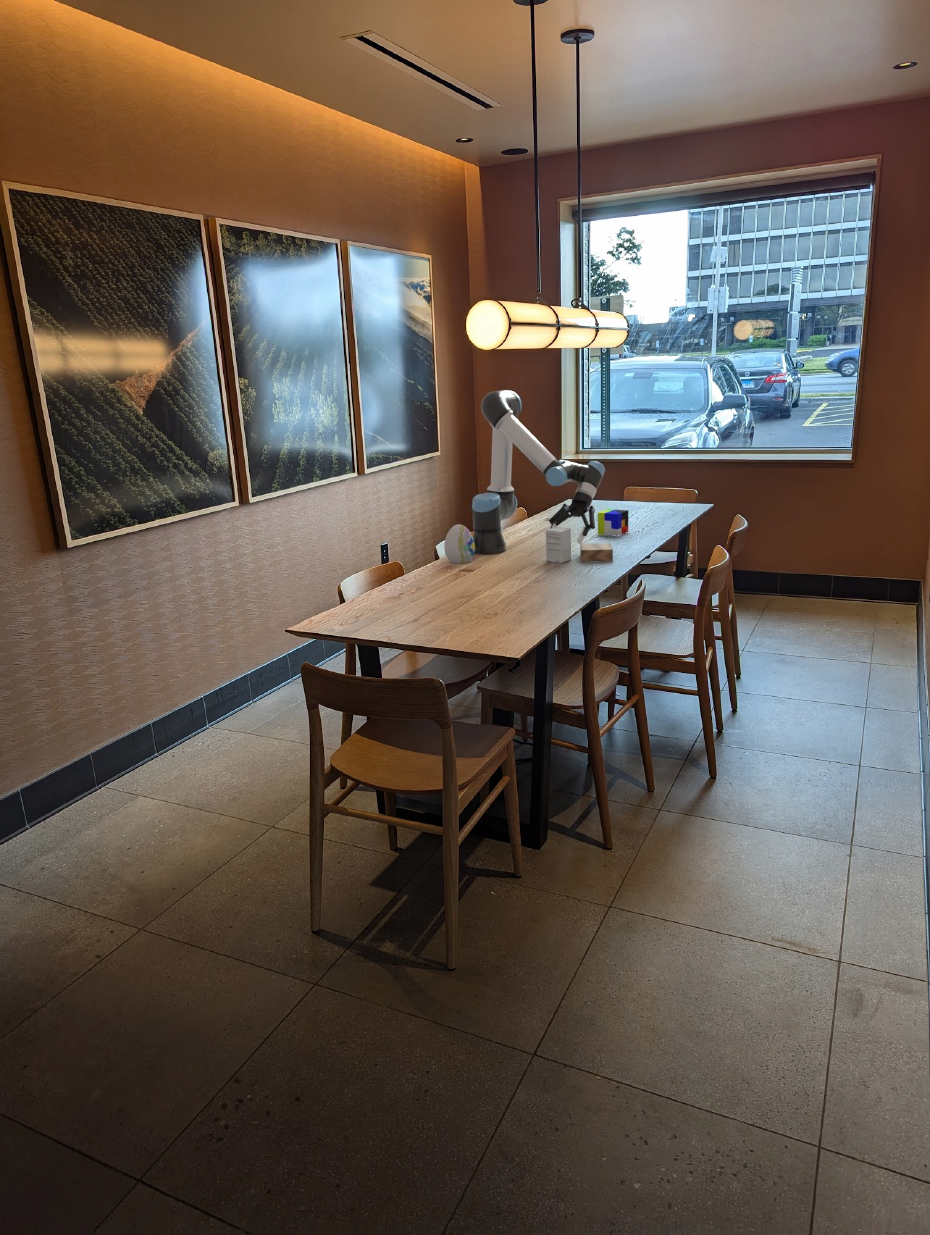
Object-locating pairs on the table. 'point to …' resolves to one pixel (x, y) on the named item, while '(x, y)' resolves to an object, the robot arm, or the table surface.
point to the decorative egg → (459, 545)
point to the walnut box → (596, 552)
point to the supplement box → (558, 544)
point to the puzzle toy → (612, 522)
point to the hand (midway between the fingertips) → (564, 540)
